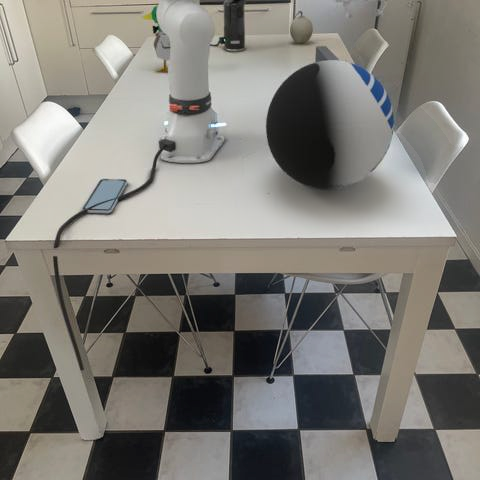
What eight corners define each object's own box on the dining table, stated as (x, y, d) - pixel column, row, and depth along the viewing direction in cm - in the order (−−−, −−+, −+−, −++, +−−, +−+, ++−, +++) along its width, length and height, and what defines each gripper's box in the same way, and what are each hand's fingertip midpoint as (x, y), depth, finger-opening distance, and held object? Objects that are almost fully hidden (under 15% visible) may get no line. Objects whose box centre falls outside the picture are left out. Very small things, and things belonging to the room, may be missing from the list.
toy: (155, 65, 218) (148, 2, 203) (198, 69, 211) (194, 5, 197) (145, 70, 212) (137, 6, 198) (190, 75, 205) (185, 9, 191)
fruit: (304, 38, 249) (305, 4, 240) (316, 43, 240) (318, 9, 231) (284, 40, 245) (285, 7, 237) (296, 46, 237) (297, 11, 228)
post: (363, 112, 170) (366, 88, 165) (351, 113, 169) (354, 89, 165) (324, 66, 212) (325, 45, 207) (314, 66, 212) (316, 46, 207)
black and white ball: (400, 209, 120) (424, 81, 103) (272, 216, 119) (274, 88, 101) (366, 153, 144) (380, 42, 127) (260, 158, 143) (260, 47, 126)
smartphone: (80, 210, 121) (100, 178, 133) (81, 213, 122) (101, 181, 134) (110, 211, 121) (128, 179, 133) (111, 214, 121) (128, 182, 133)
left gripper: (400, -38, 153) (393, 12, 161) (332, -35, 151) (329, 15, 159) (408, -35, 147) (400, 17, 155) (338, -32, 146) (334, 20, 154)
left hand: (363, 16), depth 157 cm, fingers open, 8 cm apart
